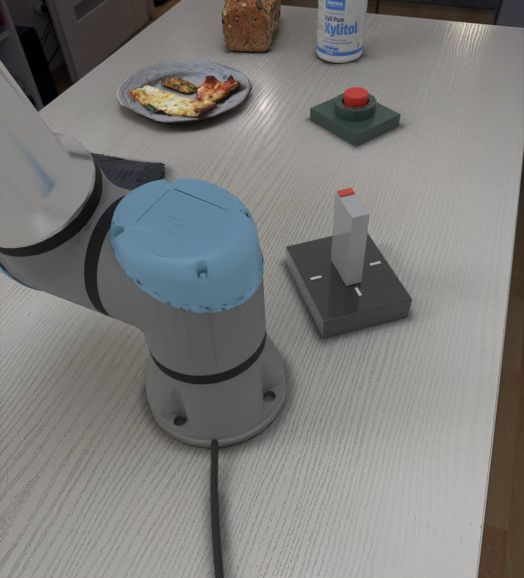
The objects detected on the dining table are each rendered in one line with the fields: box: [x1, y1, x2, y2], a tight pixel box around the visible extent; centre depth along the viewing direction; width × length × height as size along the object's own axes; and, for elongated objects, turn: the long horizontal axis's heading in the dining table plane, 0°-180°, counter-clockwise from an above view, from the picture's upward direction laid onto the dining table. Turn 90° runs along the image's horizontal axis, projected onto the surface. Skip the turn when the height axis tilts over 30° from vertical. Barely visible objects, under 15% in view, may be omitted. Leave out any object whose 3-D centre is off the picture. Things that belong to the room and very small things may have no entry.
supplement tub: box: [315, 0, 369, 64], centre depth 107 cm, size 10×10×15 cm
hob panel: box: [285, 232, 413, 339], centre depth 68 cm, size 14×11×3 cm
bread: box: [221, 0, 282, 53], centre depth 118 cm, size 19×11×10 cm, turn 170°
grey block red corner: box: [331, 187, 371, 286], centre depth 63 cm, size 5×2×10 cm, turn 17°
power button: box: [343, 86, 369, 107], centre depth 92 cm, size 4×4×2 cm
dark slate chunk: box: [90, 152, 166, 191], centre depth 85 cm, size 15×22×5 cm
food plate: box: [116, 58, 253, 124], centre depth 103 cm, size 25×23×4 cm
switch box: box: [309, 92, 401, 147], centre depth 94 cm, size 12×10×4 cm
